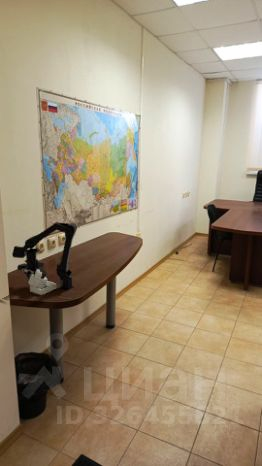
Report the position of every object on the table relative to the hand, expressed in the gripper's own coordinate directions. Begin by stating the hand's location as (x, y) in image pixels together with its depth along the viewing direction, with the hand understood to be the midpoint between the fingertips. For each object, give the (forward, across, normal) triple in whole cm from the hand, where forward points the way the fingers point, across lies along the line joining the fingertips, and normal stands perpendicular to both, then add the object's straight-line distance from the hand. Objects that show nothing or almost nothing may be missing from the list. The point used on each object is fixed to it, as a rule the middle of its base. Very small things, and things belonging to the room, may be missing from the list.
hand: (31, 283), depth 189 cm
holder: (+2, -9, 0) cm, 9 cm away
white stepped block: (0, -4, 0) cm, 4 cm away
